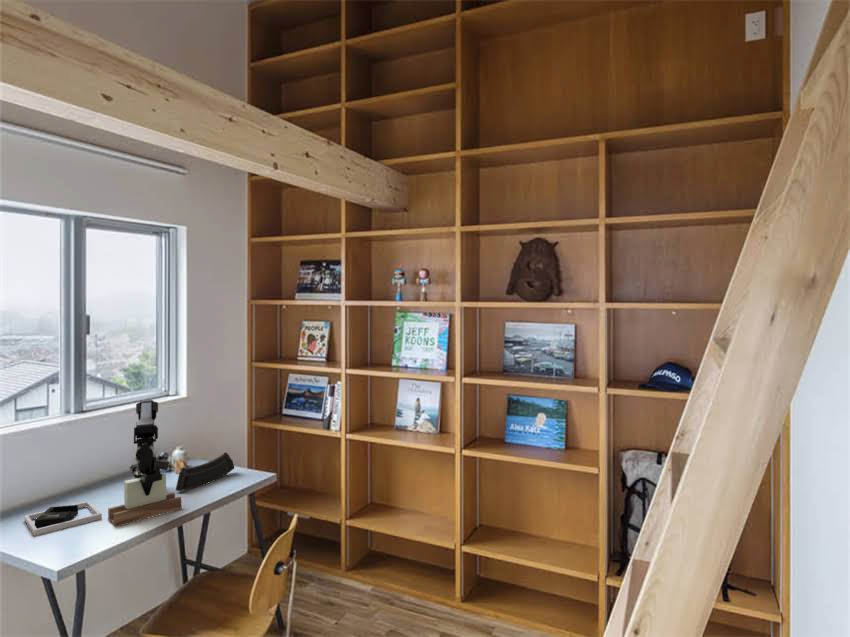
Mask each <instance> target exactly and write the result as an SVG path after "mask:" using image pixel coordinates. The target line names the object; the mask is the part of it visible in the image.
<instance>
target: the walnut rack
mask: <svg viewBox="0 0 850 637" xmlns="http://www.w3.org/2000/svg"><path fill="white" fill-rule="evenodd" d="M178 509H179V510H182V509H183V507H182V497H181V496H177V497H176V493H175V492H170V493H166V500H162V501H158V502H154V503H150V504H146V505H142V506H138V507H134V508H130V509H127V508H126V507H125V503H124V504H121V505H116V506H113V507H109V508H108V509H107V513H108V514H107V516H108V517H107V520H108V521H109V522H110V524H112V526H113V527H115V526H117V527H120V526H123V524H124V525H127V524H126V523H128V524H131V523H134V522H133V521H135V522H138V521H137V520H139V521H141V520H140V519H142V520H146V519H149V518H148V517H150V518H153V517H152V516H154V517H157V516H160V515H159V514H161V515H164V514H163V513H165V514H168V513H171V511H172V512H175V511H174V510H176V511H179V510H178ZM167 512H168V513H167ZM156 515H157V516H156ZM145 518H146V519H145ZM130 522H131V523H130ZM119 525H120V526H119Z"/></svg>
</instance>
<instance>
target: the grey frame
mask: <svg viewBox="0 0 850 637" xmlns="http://www.w3.org/2000/svg"><path fill="white" fill-rule="evenodd" d="M70 505H71V504H69V505H68V506H70ZM72 505H78V508H81V509H83V508H82V507H85V508H87V507H88V508H89V509H90V510H91V511H92V512H91V511H90V510H89V509H88V508H87V509H88V510H89V511H90V512H91V513H92V514H91V515H87V516H83V517H80V518H75V519H74V518H73V519H72V520H70V521H66V522H62V523H58V524H54V525H50V526H46V527H42V528H38V529H37V528H36V527H35V522H33V520H32V519H35V520H36V518H38V517H39V516H40V515H42V514H43V513H44V512H45V511H46V510H43V511H40V512H35V513H34V512H33V513H30V514H25V515H24V522H25V523H27V524H26V525H27V528H28V529H29V528H30V529H29V530H30V532H31V531H32V532H31V533H32V535H33V536H34V537H36V535H37V536H40V535H44V534H47V532H48V533H51V531H52V532H55V531H60V530H63V528H64V529H67V527H68V528H70V527H71V526H72V527H75V525H76V526H79V524H80V525H83V524H86V522H87V523H91V522H94V521H93V520H95V521H98V519H99V520H102V516H103V514H102V512H101V511H100V510H99V509H98V508H96V507H95V505H94V504H92V502H90V500H87V501H83V502H78V503H73V504H72ZM86 506H87V507H86ZM90 521H91V522H90ZM43 533H44V534H43Z"/></svg>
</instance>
